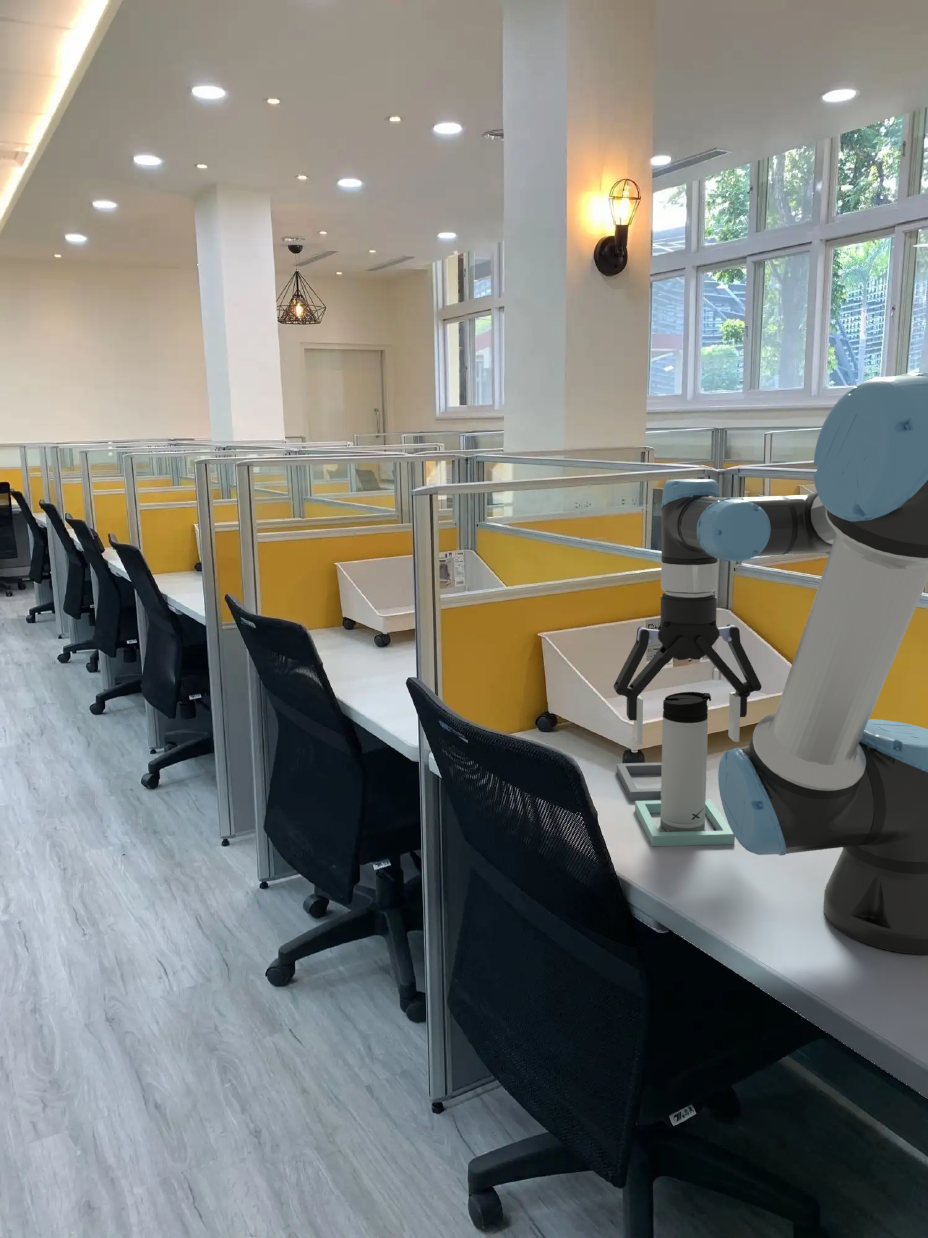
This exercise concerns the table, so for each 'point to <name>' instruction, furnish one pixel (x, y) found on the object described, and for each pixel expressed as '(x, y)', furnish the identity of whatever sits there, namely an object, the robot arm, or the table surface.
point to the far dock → (632, 791)
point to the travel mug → (684, 761)
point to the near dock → (684, 838)
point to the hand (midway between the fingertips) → (685, 740)
